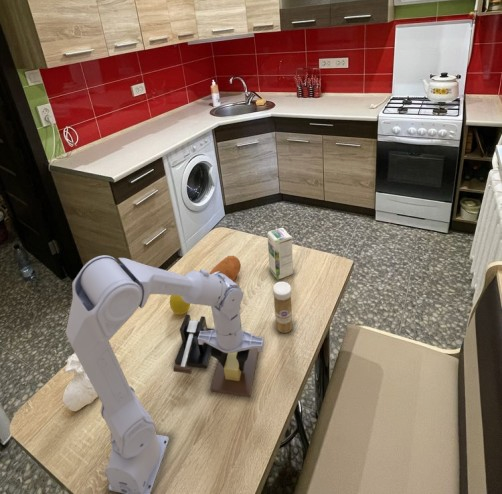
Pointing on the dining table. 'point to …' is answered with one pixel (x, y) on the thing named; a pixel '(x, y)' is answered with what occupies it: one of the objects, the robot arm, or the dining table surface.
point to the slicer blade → (187, 349)
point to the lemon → (178, 304)
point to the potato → (228, 267)
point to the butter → (232, 367)
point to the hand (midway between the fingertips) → (234, 365)
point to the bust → (78, 386)
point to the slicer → (194, 345)
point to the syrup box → (280, 253)
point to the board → (236, 387)
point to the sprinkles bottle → (283, 306)
